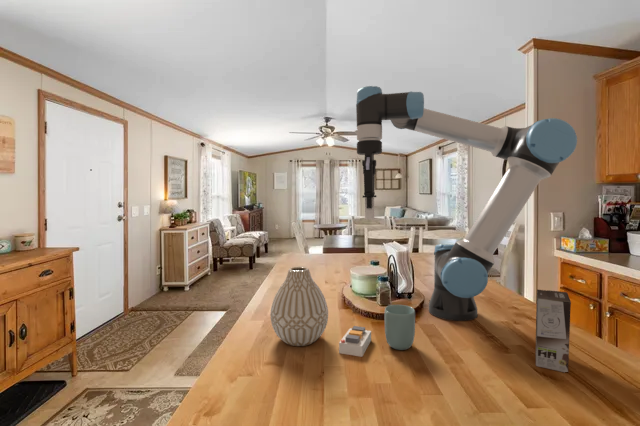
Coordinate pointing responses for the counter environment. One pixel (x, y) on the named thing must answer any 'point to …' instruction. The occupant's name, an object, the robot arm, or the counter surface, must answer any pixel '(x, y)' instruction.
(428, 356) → the counter surface
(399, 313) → the cup
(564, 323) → the coffee box
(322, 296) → the vase
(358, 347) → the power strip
